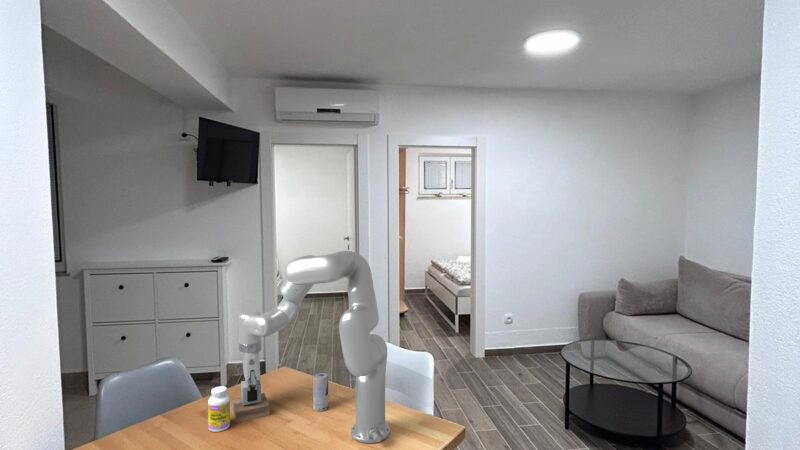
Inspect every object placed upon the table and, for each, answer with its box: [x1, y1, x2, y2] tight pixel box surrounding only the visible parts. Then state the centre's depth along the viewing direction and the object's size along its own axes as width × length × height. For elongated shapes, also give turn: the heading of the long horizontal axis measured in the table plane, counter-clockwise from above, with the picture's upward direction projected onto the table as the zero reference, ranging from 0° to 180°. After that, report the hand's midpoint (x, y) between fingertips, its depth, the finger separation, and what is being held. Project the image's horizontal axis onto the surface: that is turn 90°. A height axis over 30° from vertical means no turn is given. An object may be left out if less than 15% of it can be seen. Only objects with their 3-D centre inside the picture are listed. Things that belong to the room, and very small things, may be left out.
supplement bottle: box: [207, 385, 231, 433], centre depth 136 cm, size 7×7×13 cm
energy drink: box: [312, 372, 329, 413], centre depth 149 cm, size 5×5×12 cm
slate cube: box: [240, 379, 262, 405], centre depth 146 cm, size 6×6×6 cm
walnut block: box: [232, 392, 271, 424], centre depth 146 cm, size 11×11×4 cm
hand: (251, 396), depth 146 cm, fingers closed on slate cube, 5 cm apart
